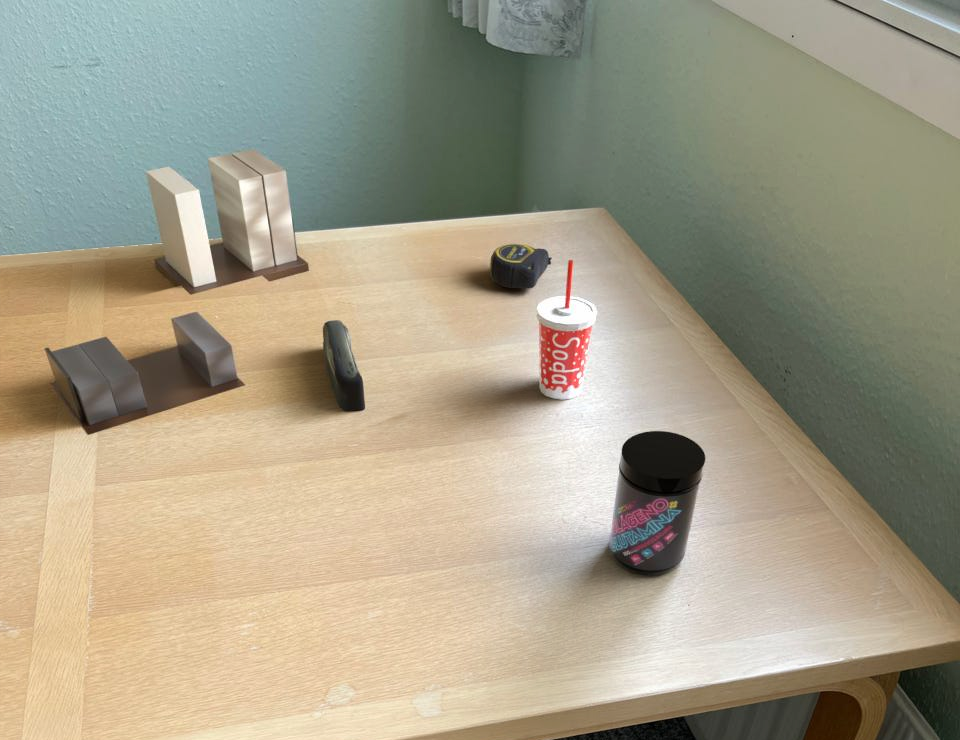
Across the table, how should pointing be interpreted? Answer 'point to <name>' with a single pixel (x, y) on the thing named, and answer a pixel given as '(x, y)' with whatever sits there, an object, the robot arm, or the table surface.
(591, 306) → the beverage cup
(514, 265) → the tape measure
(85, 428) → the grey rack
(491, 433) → the table surface
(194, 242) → the white book
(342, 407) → the black stapler
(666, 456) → the supplement container
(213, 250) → the bookend with slabs
